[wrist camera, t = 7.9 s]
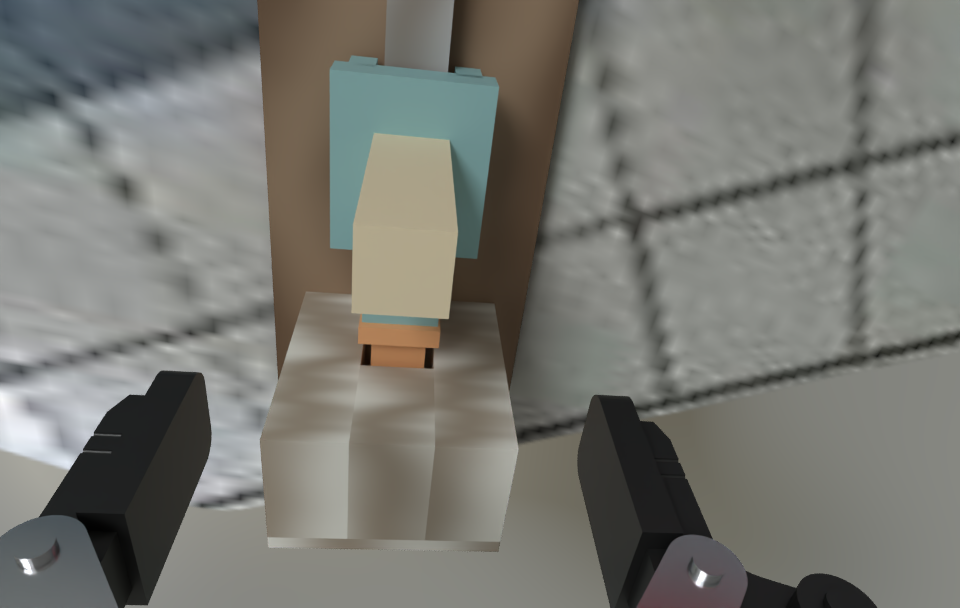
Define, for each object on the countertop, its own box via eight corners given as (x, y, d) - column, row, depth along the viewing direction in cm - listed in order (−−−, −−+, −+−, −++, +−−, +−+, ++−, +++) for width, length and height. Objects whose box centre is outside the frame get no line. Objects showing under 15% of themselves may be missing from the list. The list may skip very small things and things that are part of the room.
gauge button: (439, 290, 28) (440, 331, 26) (428, 398, 32) (428, 445, 29) (364, 285, 28) (358, 327, 25) (361, 395, 31) (355, 442, 29)
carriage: (492, 70, 26) (528, 162, 17) (468, 269, 30) (486, 426, 21) (338, 54, 25) (288, 140, 16) (337, 260, 30) (298, 418, 21)
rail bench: (618, -256, 22) (760, -372, 12) (506, 382, 36) (534, 552, 26) (247, -320, 20) (94, -506, 11) (282, 371, 34) (227, 546, 25)
